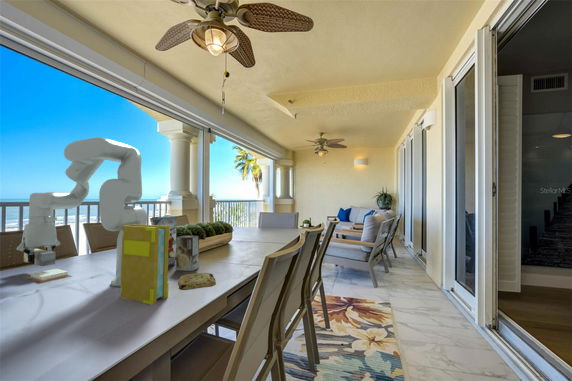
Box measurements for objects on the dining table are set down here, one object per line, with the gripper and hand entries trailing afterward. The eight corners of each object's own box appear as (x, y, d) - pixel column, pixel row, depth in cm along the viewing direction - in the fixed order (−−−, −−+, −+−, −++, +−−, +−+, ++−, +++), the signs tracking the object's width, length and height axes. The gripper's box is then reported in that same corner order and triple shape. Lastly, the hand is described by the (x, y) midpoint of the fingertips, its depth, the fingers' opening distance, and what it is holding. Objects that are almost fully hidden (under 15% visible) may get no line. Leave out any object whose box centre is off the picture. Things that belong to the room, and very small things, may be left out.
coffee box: (199, 267, 120) (200, 235, 121) (192, 271, 114) (193, 237, 114) (182, 266, 122) (183, 235, 122) (175, 270, 115) (175, 237, 116)
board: (72, 279, 101) (72, 276, 101) (40, 287, 92) (41, 283, 92) (52, 274, 108) (52, 270, 109) (20, 280, 99) (20, 277, 99)
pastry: (164, 287, 94) (165, 279, 94) (196, 274, 110) (196, 268, 110) (199, 293, 88) (199, 285, 88) (227, 279, 104) (227, 272, 104)
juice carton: (147, 267, 119) (149, 214, 120) (165, 262, 129) (166, 213, 130) (160, 270, 116) (162, 214, 117) (177, 264, 125) (179, 213, 127)
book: (168, 296, 84) (170, 225, 85) (151, 304, 77) (154, 227, 78) (133, 290, 89) (135, 224, 90) (115, 297, 83) (117, 225, 84)
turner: (55, 263, 102) (55, 252, 102) (42, 266, 98) (43, 254, 98) (35, 259, 109) (36, 248, 110) (23, 261, 106) (24, 250, 106)
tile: (56, 273, 105) (67, 276, 101) (30, 278, 98) (42, 282, 94) (56, 268, 105) (67, 271, 101) (31, 273, 98) (42, 276, 94)
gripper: (61, 219, 114) (59, 257, 113) (9, 221, 99) (7, 266, 98) (69, 219, 111) (67, 259, 110) (17, 222, 95) (14, 268, 95)
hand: (39, 262), depth 104 cm, fingers closed on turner, 4 cm apart
